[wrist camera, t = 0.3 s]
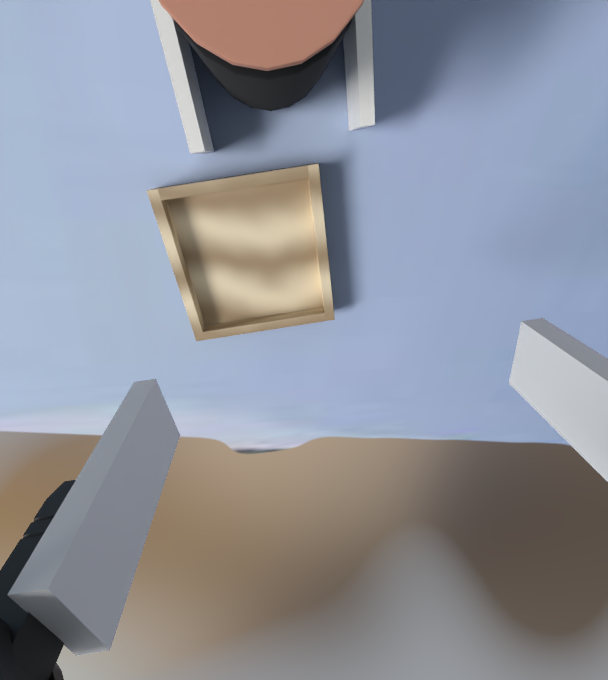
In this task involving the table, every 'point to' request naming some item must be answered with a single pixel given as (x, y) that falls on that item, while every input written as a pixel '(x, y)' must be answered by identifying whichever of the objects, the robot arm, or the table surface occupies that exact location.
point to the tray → (248, 250)
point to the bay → (189, 94)
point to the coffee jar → (264, 43)
